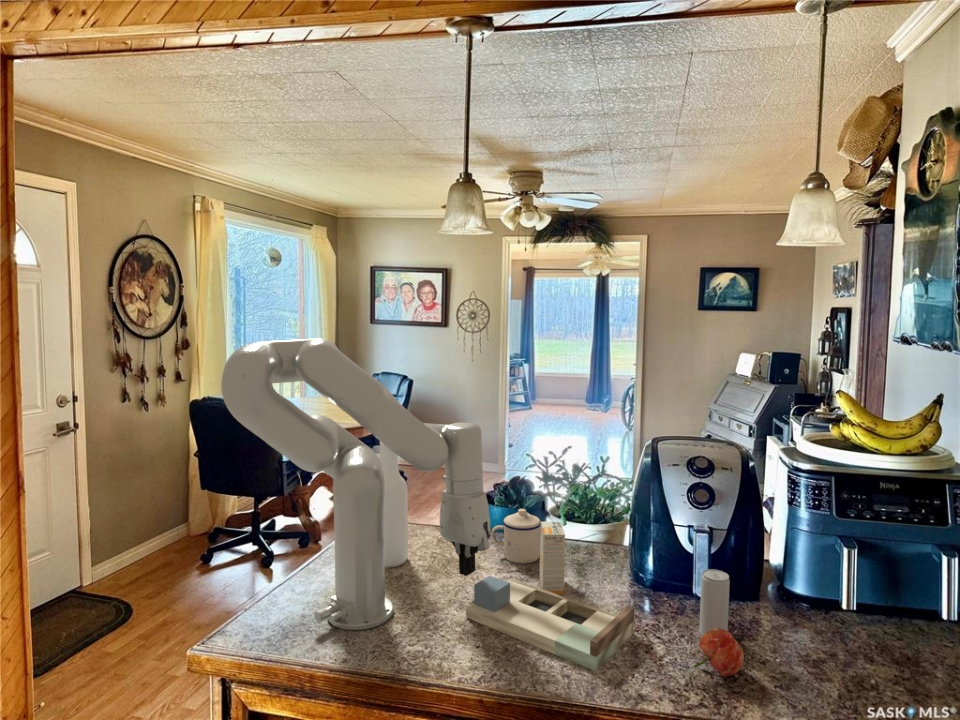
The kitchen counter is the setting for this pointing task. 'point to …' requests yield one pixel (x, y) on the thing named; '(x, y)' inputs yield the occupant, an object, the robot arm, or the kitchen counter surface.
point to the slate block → (492, 593)
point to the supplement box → (552, 557)
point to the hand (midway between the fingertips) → (467, 572)
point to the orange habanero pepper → (722, 651)
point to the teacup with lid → (520, 537)
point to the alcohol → (394, 510)
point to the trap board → (558, 624)
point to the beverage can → (714, 600)
